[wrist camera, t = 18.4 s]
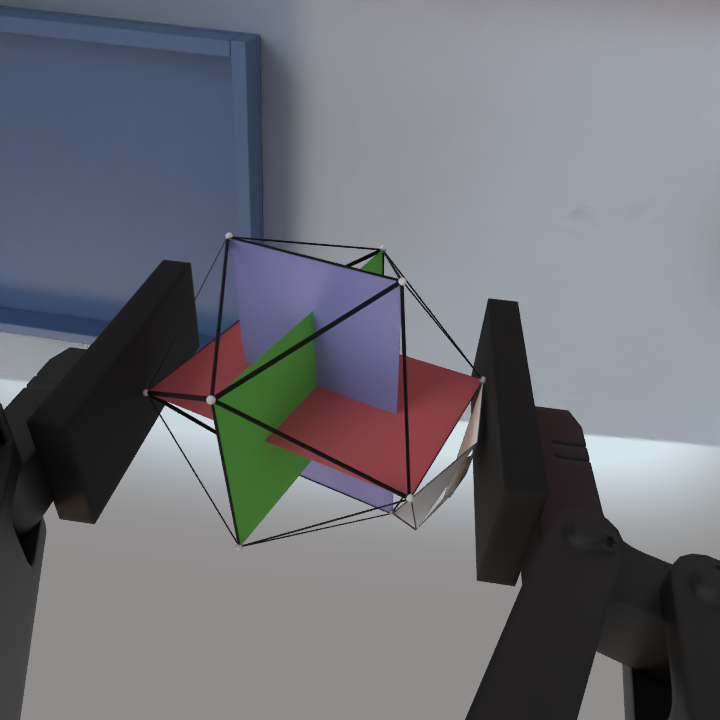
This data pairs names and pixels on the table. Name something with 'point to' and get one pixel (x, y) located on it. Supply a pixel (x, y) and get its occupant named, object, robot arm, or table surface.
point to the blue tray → (121, 166)
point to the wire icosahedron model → (321, 388)
